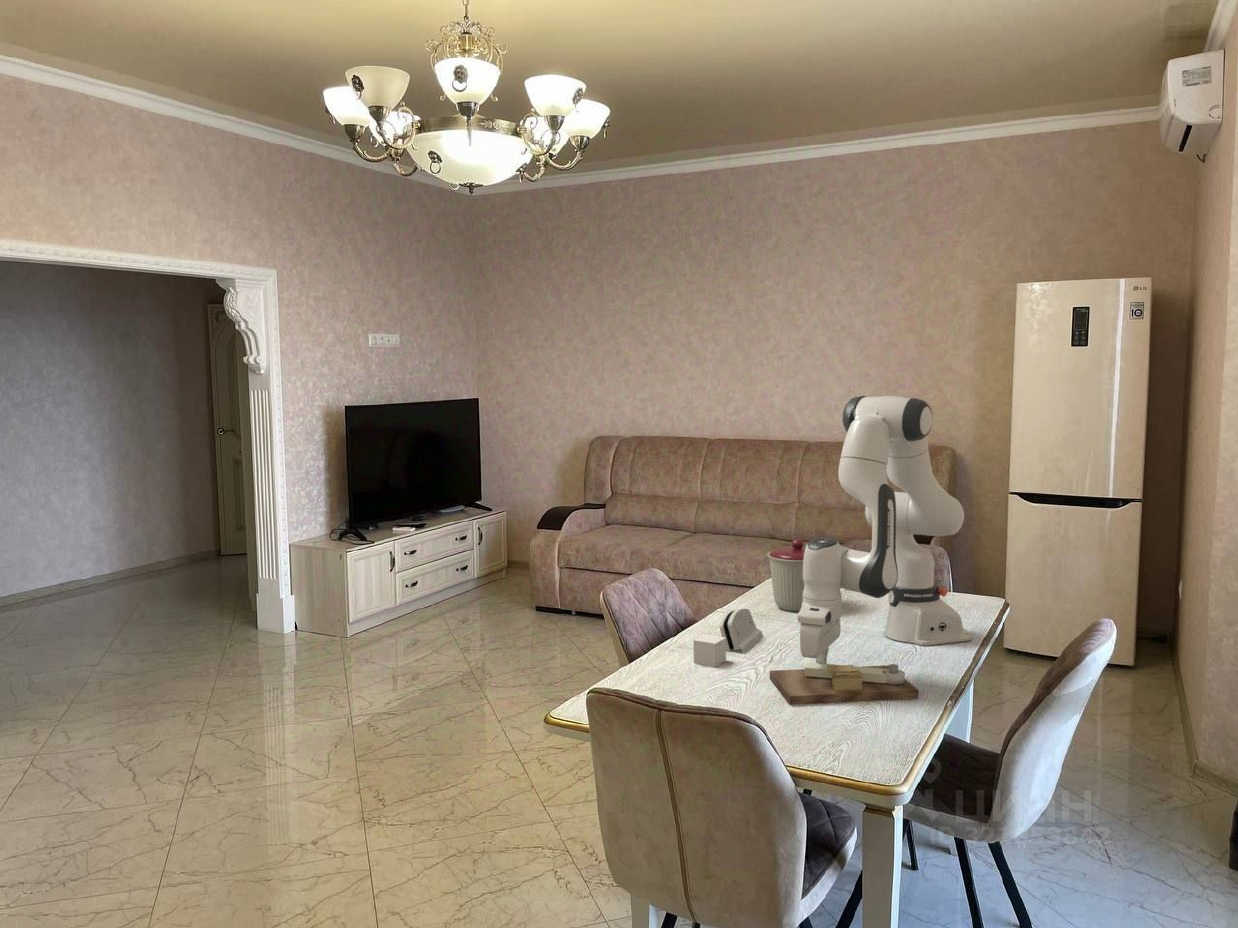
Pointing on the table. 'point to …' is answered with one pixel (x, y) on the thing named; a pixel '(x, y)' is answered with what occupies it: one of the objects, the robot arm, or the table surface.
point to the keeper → (845, 678)
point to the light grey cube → (709, 650)
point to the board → (820, 690)
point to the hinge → (740, 630)
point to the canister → (788, 575)
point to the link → (868, 673)
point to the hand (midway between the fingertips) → (821, 665)
